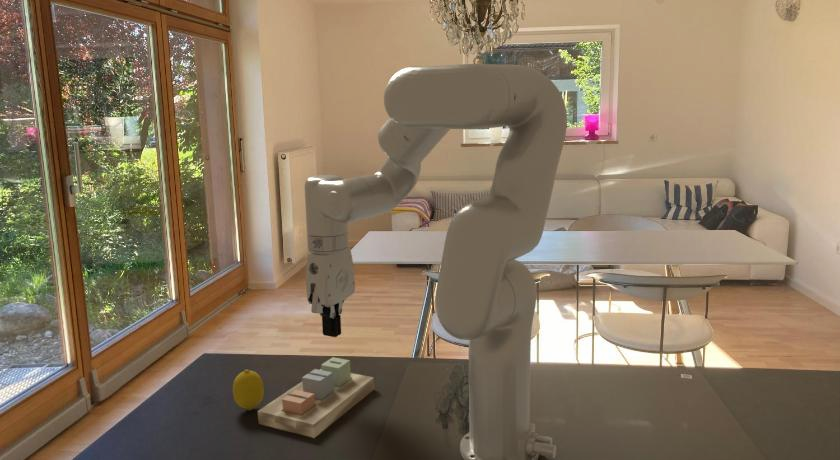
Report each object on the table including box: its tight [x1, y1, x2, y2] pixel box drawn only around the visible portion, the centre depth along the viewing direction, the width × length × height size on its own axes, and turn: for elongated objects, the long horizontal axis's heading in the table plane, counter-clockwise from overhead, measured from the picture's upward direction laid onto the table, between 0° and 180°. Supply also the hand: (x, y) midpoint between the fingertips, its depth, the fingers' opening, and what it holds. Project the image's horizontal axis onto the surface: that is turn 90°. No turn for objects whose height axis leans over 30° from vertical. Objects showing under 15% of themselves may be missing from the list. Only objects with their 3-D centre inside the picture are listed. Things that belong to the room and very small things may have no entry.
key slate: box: [301, 368, 334, 401], centre depth 119 cm, size 4×4×4 cm
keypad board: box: [257, 368, 375, 439], centre depth 119 cm, size 12×20×2 cm, turn 153°
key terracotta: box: [282, 390, 315, 416], centre depth 114 cm, size 5×4×4 cm
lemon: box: [232, 369, 265, 411], centre depth 118 cm, size 6×6×8 cm
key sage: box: [320, 356, 352, 387], centre depth 124 cm, size 4×4×4 cm
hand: (332, 334), depth 123 cm, fingers closed
